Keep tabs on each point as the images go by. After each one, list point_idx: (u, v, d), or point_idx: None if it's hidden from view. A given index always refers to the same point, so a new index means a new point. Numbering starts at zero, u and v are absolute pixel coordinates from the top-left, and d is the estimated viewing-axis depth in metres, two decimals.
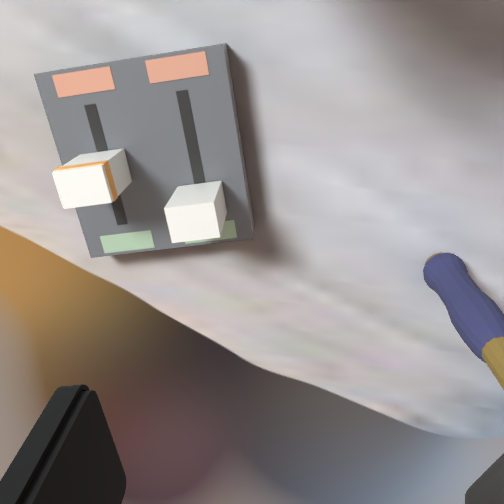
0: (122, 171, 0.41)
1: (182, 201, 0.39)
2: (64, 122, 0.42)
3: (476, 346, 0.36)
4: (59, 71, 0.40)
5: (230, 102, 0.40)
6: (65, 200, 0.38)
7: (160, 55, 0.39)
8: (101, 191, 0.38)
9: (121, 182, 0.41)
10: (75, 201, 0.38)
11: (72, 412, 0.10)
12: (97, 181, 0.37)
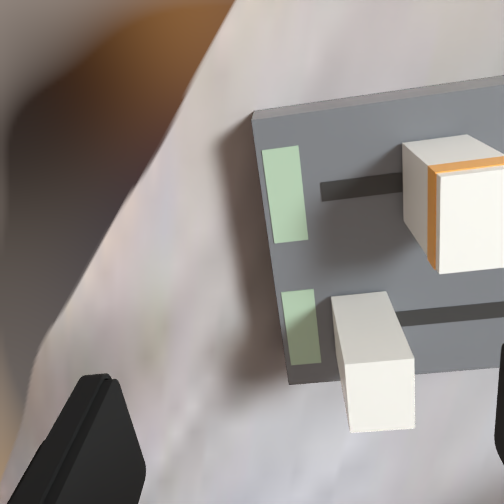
0: None
1: None
2: None
3: None
4: None
5: None
6: (459, 184, 0.18)
7: None
8: (466, 259, 0.19)
9: None
10: (453, 205, 0.18)
11: (96, 399, 0.10)
12: (487, 254, 0.19)
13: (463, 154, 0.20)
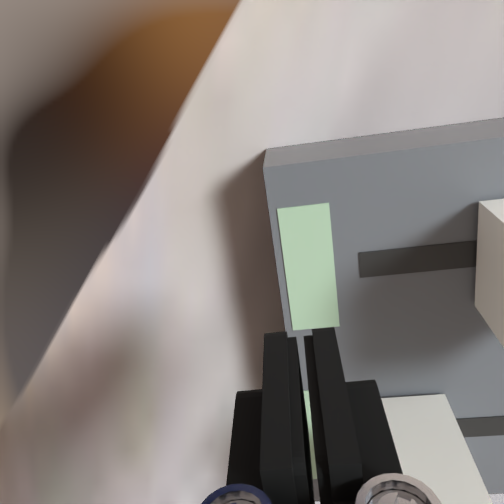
0: None
1: None
2: None
3: None
4: None
5: None
6: None
7: None
8: None
9: None
10: None
11: (290, 353, 0.10)
12: None
13: None
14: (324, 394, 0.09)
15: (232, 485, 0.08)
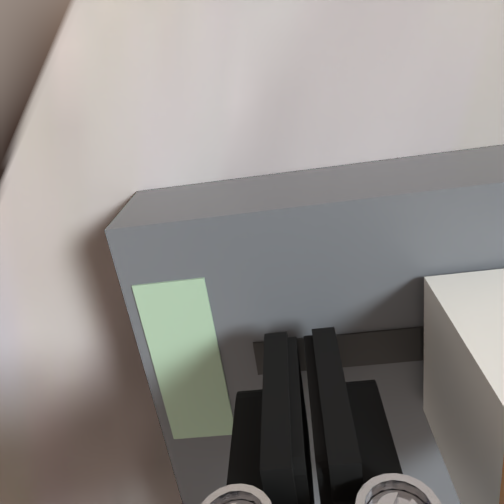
0: None
1: None
2: None
3: None
4: None
5: None
6: None
7: None
8: None
9: None
10: None
11: (290, 353, 0.10)
12: None
13: None
14: (324, 394, 0.09)
15: (232, 485, 0.08)
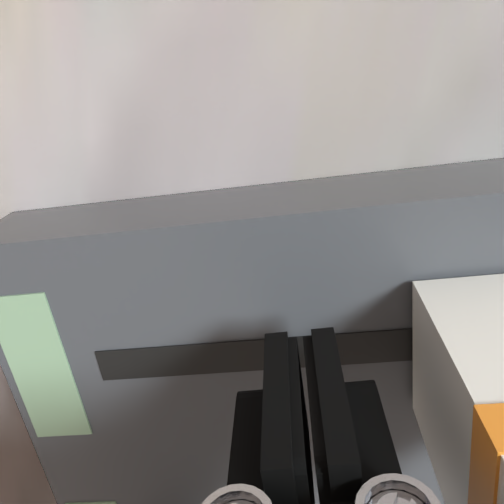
0: None
1: None
2: (455, 250, 0.12)
3: None
4: None
5: None
6: None
7: None
8: None
9: None
10: None
11: (290, 353, 0.10)
12: None
13: None
14: (323, 394, 0.09)
15: (232, 485, 0.08)
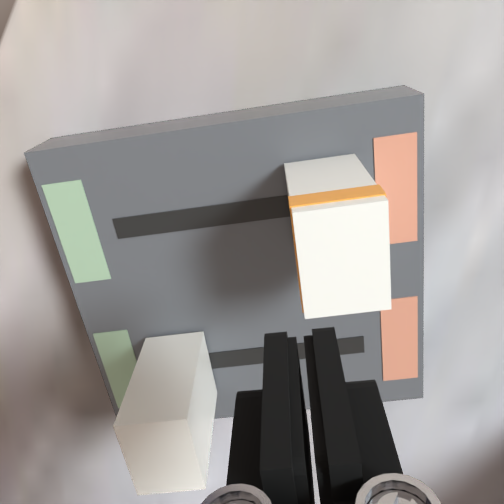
0: None
1: (196, 420, 0.21)
2: (324, 141, 0.20)
3: None
4: (421, 147, 0.20)
5: None
6: (314, 221, 0.15)
7: (421, 318, 0.24)
8: (332, 302, 0.17)
9: None
10: (310, 243, 0.16)
11: (290, 354, 0.10)
12: (356, 297, 0.17)
13: (334, 181, 0.17)
14: (324, 394, 0.09)
15: (232, 485, 0.08)
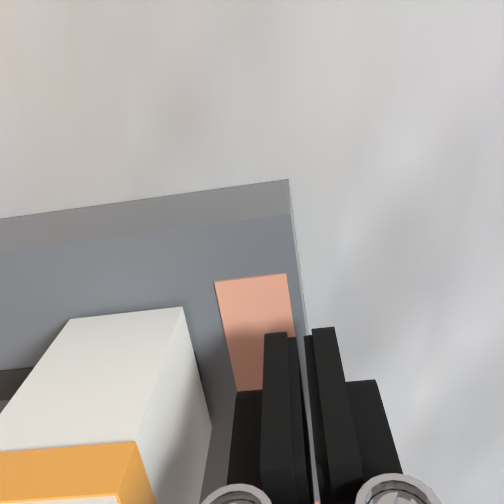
0: None
1: None
2: (134, 285, 0.12)
3: None
4: (297, 296, 0.12)
5: None
6: None
7: None
8: None
9: None
10: None
11: (290, 353, 0.10)
12: None
13: (85, 403, 0.09)
14: (324, 394, 0.09)
15: (232, 485, 0.08)
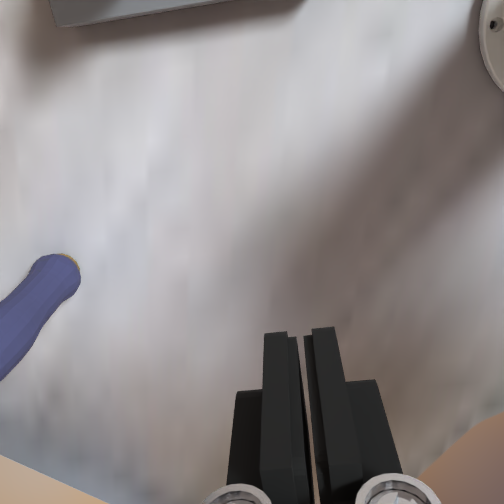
0: None
1: None
2: None
3: None
4: None
5: None
6: None
7: None
8: None
9: None
10: None
11: (290, 353, 0.10)
12: None
13: None
14: (324, 394, 0.09)
15: (232, 485, 0.08)
